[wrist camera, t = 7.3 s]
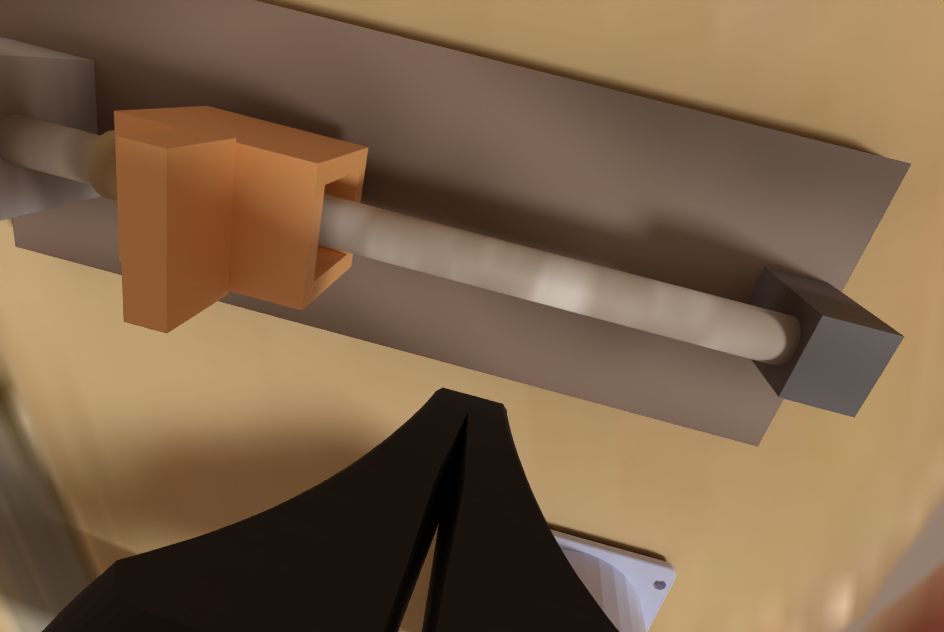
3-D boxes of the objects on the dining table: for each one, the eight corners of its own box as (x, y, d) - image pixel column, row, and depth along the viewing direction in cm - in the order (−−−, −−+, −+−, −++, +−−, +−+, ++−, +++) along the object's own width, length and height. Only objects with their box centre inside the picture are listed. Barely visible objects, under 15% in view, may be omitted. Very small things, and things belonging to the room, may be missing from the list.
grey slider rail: (746, 427, 21) (817, 551, 15) (42, 238, 22) (-132, 289, 16) (887, 158, 17) (1054, 194, 11) (14, -59, 17) (-232, -126, 12)
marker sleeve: (350, 269, 18) (253, 356, 12) (203, 230, 18) (38, 298, 12) (368, 143, 16) (267, 175, 10) (207, 102, 16) (18, 110, 11)
